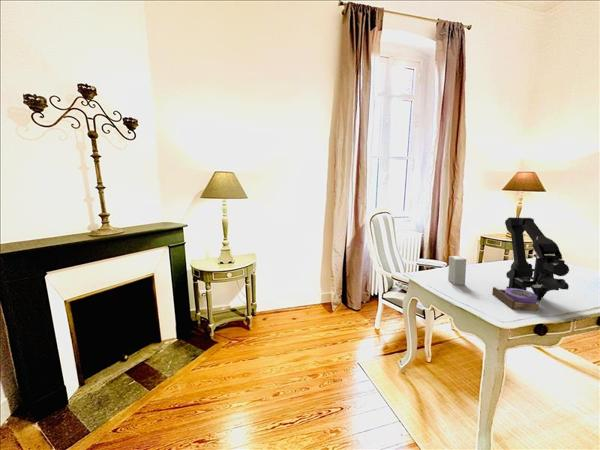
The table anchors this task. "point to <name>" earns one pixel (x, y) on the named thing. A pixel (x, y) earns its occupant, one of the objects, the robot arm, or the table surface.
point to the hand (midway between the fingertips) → (538, 300)
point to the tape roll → (521, 295)
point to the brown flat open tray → (511, 303)
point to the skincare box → (457, 270)
